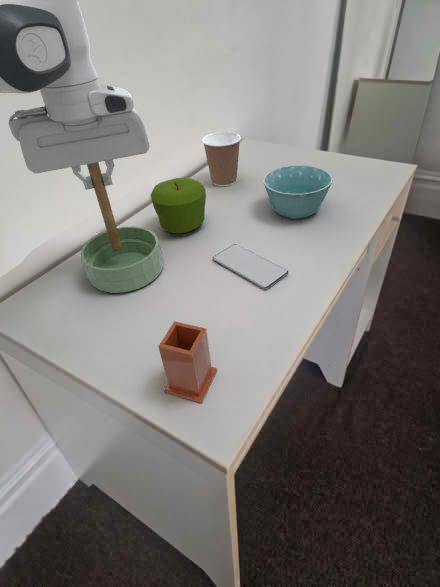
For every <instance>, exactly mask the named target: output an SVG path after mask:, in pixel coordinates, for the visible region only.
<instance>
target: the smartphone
mask: <svg viewBox="0 0 440 587" xmlns="http://www.w3.org/2000/svg"><path fill="white" fill-rule="evenodd" d="M212 260H213V261H215V262H216V263H218V264H220V265H221V266H224V267H225V268H226V269H228V270H230V271H232V272H234V273H235V274H237V275H238V276H241V277H243V278H244V279H246V280H247V281H250V282H251V283H253V284H254V285H256V286H258V287H260V288H262V289H264V290H268V289H270V288H271V287H272V286H274V285H275V284H277V283H278V282H279V281H282V279H284V278H285V277H286V276H287V275H289V270H288V269H286V268H284V267H282V266H280V265H278V264H276V263H275V262H272V261H271V260H268V259H266V258H265V257H262V256H261V255H258V254H256V253H254V252H253V251H251V250H249V249H247V248H245V247H243V246H241V245H239V244H236V243H234V244H231V245H230V246H228V247H227V248H225V249H223V250H222V251H220V252H218V253H217V254H215V255H213V256H212Z"/></svg>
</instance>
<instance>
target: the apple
mask: <svg viewBox="0 0 440 587" xmlns="http://www.w3.org/2000/svg"><path fill="white" fill-rule="evenodd" d="M150 199H151V203H152V206H153V209H154V211H155V213H156V215H157V219H158V222H159V225H160V227H161V229H163V230H164V231H165V232H168V233H171V234H185V233H189V232H191V231H193V230H195V229H197V228H199V227H200V226H201V225H202V224H203V223H204V221H205V218H206V200H207V194H206V188H205V186H204V184H203V183H201V182H200V181H198V180H196V179H194V178H190V177H175V178H171V179H167V180H163V181H161V182H158V183H157V184H156V185H154V187H153V189H152V190H151V193H150Z"/></svg>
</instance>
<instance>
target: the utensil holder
mask: <svg viewBox="0 0 440 587" xmlns="http://www.w3.org/2000/svg"><path fill="white" fill-rule="evenodd" d="M157 347H158V351H159V355H160V358H161V363H162V366H163V369H164V373H165V378H166V381H167V383H166V385H165V386H164V388H163V392H164V393H166V394H169V395H172V396H175V397H178V398H183V399H185V400H189V401H193V402H196V403H200V404H203V402H204V401H205V398H206V396H207V394H208V392H209V389H210V387H211V385H212V384H213V382H214V378H215V377H216V374H217V372H218V368H217V367H214V366H212V360H211V352H210V345H209V338H208V331H207V328H205V327H201V326H197V325H193V324H189V323H184V322H179V321H175V320H174V321H173V322H172V324H171V326H170V327H169V329H168V331H167V332H166V333H165V335H164V337H163V338H162V340H161V341H160V343H159V344H158V346H157Z"/></svg>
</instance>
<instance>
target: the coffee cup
mask: <svg viewBox="0 0 440 587" xmlns="http://www.w3.org/2000/svg"><path fill="white" fill-rule="evenodd" d="M241 139H242V137H241V135H240V134H238V133H237V132H232V131H219V132H214V133H213V132H212V133H210V134H207V135H205V136H204V137H202V140H201V142H202V144H203V147H204V152H205V156H206V157H205V158H206V161H207V166H208V170H209V175H210V176H209V177H210V180H211V183H212V184H213V185H214V186H217V187H229V186H232V185H234V184H235V183H236V182H237V177H238V166H239V154H240V143H241Z"/></svg>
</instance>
